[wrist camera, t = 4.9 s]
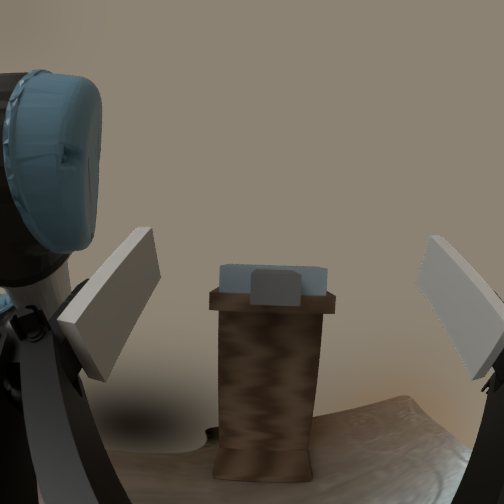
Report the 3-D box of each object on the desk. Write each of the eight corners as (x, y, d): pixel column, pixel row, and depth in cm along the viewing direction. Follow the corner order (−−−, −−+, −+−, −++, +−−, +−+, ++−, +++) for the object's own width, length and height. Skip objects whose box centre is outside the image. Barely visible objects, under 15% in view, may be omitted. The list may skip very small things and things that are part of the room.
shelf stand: (212, 478, 31) (209, 292, 31) (221, 445, 40) (222, 284, 40) (310, 481, 30) (335, 296, 31) (304, 448, 39) (321, 287, 40)
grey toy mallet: (200, 305, 23) (201, 268, 23) (228, 285, 40) (229, 263, 40) (347, 309, 22) (350, 272, 22) (314, 288, 39) (315, 266, 39)
